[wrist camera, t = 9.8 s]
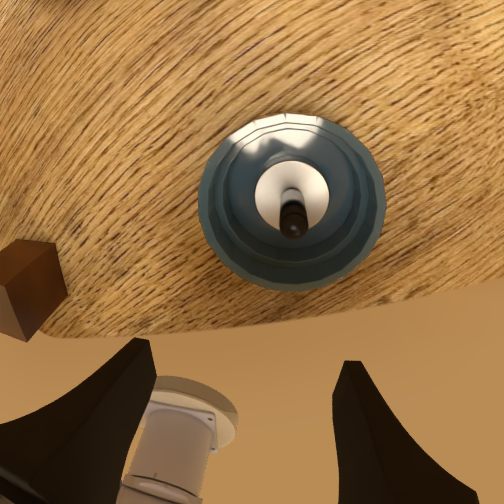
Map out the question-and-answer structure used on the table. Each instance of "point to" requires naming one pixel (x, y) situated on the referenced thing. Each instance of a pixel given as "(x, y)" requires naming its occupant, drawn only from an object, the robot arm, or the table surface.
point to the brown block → (28, 287)
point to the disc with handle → (291, 195)
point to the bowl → (272, 240)
